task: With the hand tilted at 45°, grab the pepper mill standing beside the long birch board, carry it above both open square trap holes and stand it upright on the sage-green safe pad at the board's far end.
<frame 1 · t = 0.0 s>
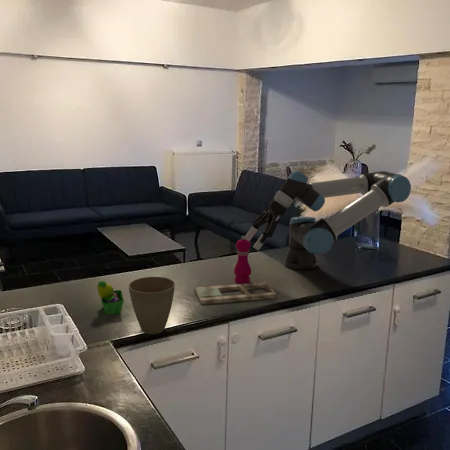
hand: (250, 244, 213), 15 cm above the worktop, tool tilted 35°, fingers open, 13 cm apart
pepper mill: (242, 281, 213), on the worktop
plant pot: (152, 330, 166), on the worktop
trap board: (235, 294, 198), on the worktop
fruit basket: (110, 310, 182), on the worktop
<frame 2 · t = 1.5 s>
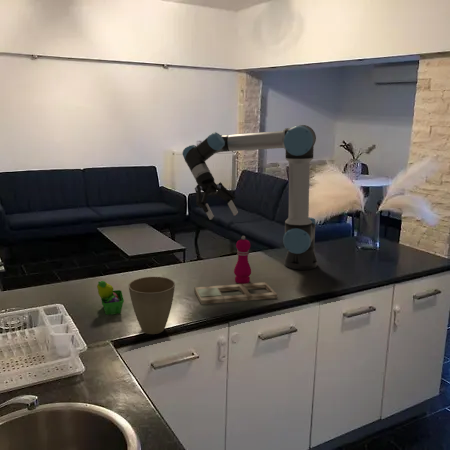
hand: (224, 216, 214), 27 cm above the worktop, tool tilted 45°, fingers open, 13 cm apart
nothing on the worktop moved.
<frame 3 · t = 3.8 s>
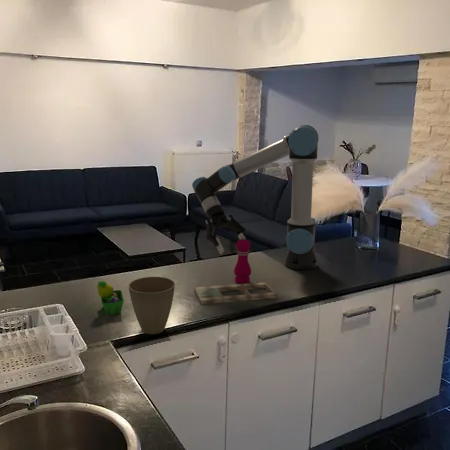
hand: (234, 249, 213), 13 cm above the worktop, tool tilted 45°, fingers open, 13 cm apart
nothing on the worktop moved.
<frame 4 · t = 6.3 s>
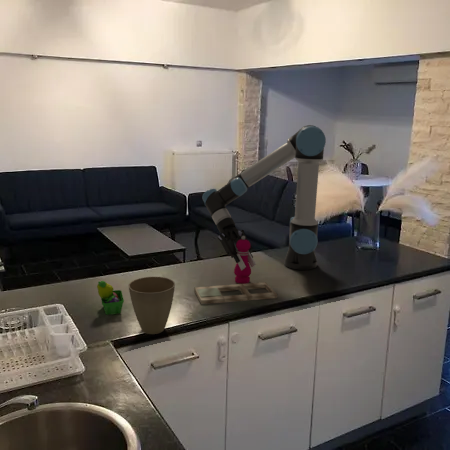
hand: (248, 267, 209), 7 cm above the worktop, tool tilted 45°, fingers closed on pepper mill, 5 cm apart
pepper mill: (242, 281, 213), on the worktop, touching gripper
everything else where it was.
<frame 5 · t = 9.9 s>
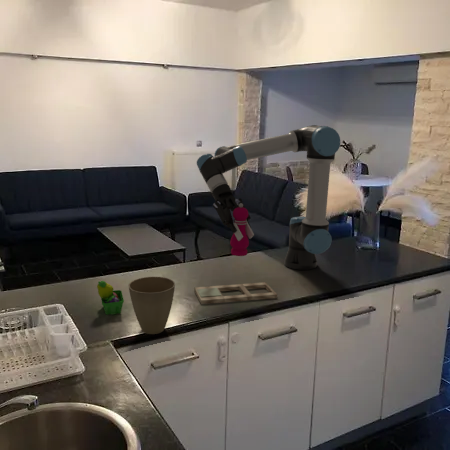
hand: (246, 237, 190), 24 cm above the worktop, tool tilted 45°, fingers closed on pepper mill, 5 cm apart
pepper mill: (239, 254, 195), point 16 cm above the worktop, touching gripper
everything else where it was.
when the fingers open (10 cm above the worktop, at t = 14.0 s): pepper mill stays where it is, resting on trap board.
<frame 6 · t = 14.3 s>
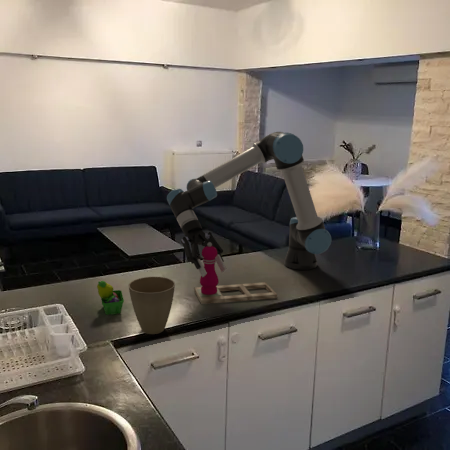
hand: (214, 272, 191), 11 cm above the worktop, tool tilted 45°, fingers open, 9 cm apart
pepper mill: (209, 292, 196), point 2 cm above the worktop, touching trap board
everything else where it was.
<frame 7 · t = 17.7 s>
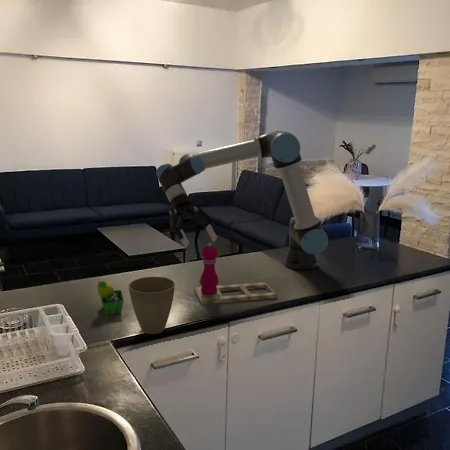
hand: (201, 242, 194), 21 cm above the worktop, tool tilted 45°, fingers open, 13 cm apart
nothing on the worktop moved.
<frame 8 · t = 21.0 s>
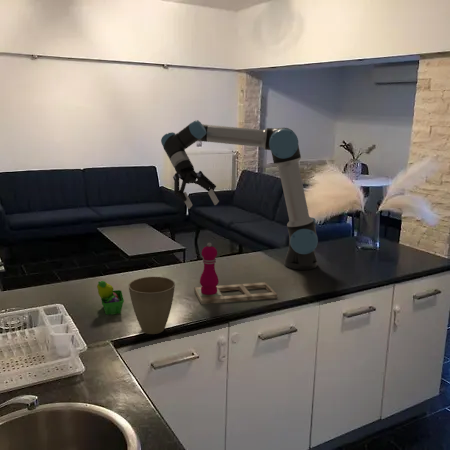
hand: (203, 205, 206), 33 cm above the worktop, tool tilted 45°, fingers open, 13 cm apart
nothing on the worktop moved.
at the end: pepper mill inside the target area on the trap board (0.1 cm from its centre), point 1.6 cm above the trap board's base; pepper mill tilted 0°; the gripper is holding nothing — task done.
